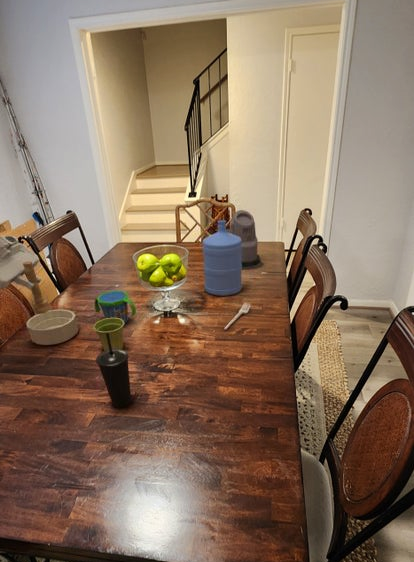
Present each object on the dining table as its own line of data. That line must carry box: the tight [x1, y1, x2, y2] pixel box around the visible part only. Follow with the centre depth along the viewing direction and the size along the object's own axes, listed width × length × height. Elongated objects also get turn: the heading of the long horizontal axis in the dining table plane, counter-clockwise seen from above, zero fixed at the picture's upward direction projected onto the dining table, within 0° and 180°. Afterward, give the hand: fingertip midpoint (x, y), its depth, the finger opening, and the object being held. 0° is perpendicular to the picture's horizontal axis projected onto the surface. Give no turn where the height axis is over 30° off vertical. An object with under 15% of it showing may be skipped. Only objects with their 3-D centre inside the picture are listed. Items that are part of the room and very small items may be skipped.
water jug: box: [202, 219, 243, 297], centre depth 150 cm, size 16×16×28 cm
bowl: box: [25, 308, 80, 346], centre depth 127 cm, size 16×16×6 cm
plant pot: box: [92, 318, 125, 352], centre depth 117 cm, size 9×9×9 cm
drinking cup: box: [95, 333, 132, 408], centre depth 90 cm, size 8×8×20 cm
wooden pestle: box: [23, 261, 51, 315], centre depth 109 cm, size 4×4×15 cm
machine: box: [226, 209, 263, 270], centre depth 183 cm, size 30×16×24 cm, turn 19°
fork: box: [223, 302, 252, 330], centre depth 133 cm, size 3×20×2 cm, turn 152°
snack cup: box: [94, 290, 137, 324], centre depth 132 cm, size 16×10×10 cm
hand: (36, 284), depth 108 cm, fingers closed on wooden pestle, 2 cm apart
